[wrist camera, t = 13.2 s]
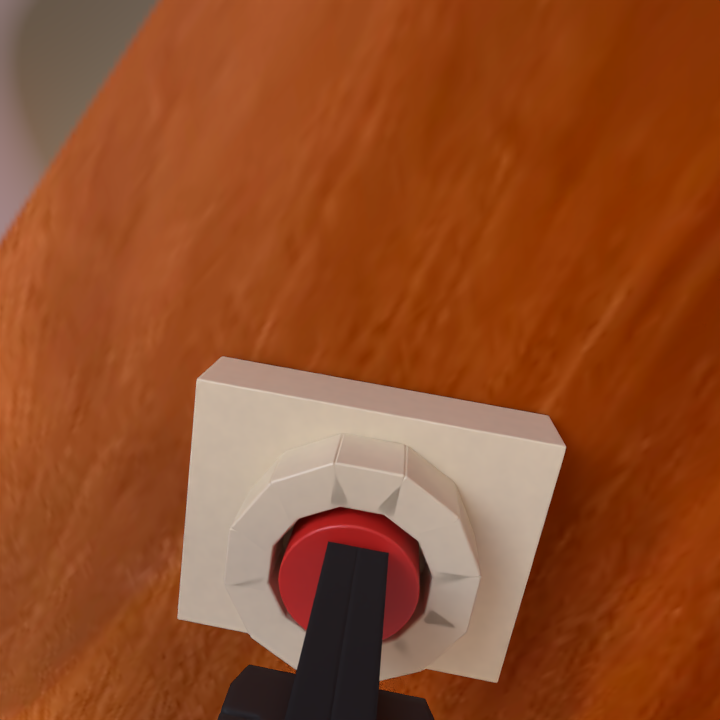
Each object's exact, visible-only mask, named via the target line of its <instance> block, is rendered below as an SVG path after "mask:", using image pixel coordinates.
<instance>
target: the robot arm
mask: <svg viewBox="0 0 720 720" xmlns="http://www.w3.org/2000/svg"><path fill="white" fill-rule="evenodd" d="M388 557H389V553H386V552H381V551H376V550H370V549H365V548H360V547H355V546H350V545H345V544H340V543H334V542H329V541H328V544H327V549H326V553H325V557H324V561H323V565H322V569H321V573H320V577H319V581H318V585H317V589H316V593H315V598H314V602H313V606H312V610H311V614H310V618H309V622H308V626H307V630H306V634H305V638H304V642H303V647H302V651H301V655H300V659H299V663H298V667H297V671H296V674H293V673H288V672H283V671H278V670H273V669H268V668H263V667H258V666H253V665H248V666H247V667H246V668H245V669H244V670H243V671H242V672H241V673H240V674H239V676H238V677H237V678H236V679H235V680H234V681H233V682H232V683H231V684H230V687H229V690H228V693H227V695H226V698H225V701H224V703H223V706H222V709H221V713H220V714H219V717H218V720H434V718H433V715H432V713H431V711H430V709H429V706H428V704H427V702H426V700H425V699H424V698H419V697H414V696H409V695H404V694H399V693H394V692H389V691H384V690H379V678H380V665H381V651H382V638H383V625H384V611H385V598H386V584H387V571H388Z"/></svg>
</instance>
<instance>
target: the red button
mask: <svg viewBox="0 0 720 720" xmlns="http://www.w3.org/2000/svg"><path fill="white" fill-rule="evenodd" d="M328 541H329V542H334V543H340V544H345V545H350V546H355V547H360V548H365V549H370V550H376V551H381V552H386V553H389V557H388V571H387V584H386V598H385V611H384V625H383V638H382V640H384V639H386V638H388V637H390V636H392V635H393V634H395V633H396V632H398V631H399V630H400V629H401V628H402V627H403V626H404V625H405V624H406V623H407V622H408V621H409V619H410V618H411V616H412V615H413V613H414V611H415V609H416V607H417V604H418V600H419V594H420V569H419V542H418V541H417V540H416V539H415V538H413V537H412V536H411V535H409V534H408V533H407V532H405V531H404V530H403V529H402V528H400V527H399V526H398V525H396V524H395V523H394V522H393V521H391V520H390V519H389V518H387V517H386V516H385V515H381V514H376V513H371V512H366V511H360V510H355V509H350V508H345V507H337V508H334V509H331V510H327V511H324V512H320V513H317V514H313V515H310V516H307V517H303V518H300V519H299V520H298V521H297V522H296V523H295V526H294V528H293V531H292V534H291V537H290V539H289V542H288V545H287V548H286V551H285V554H284V556H283V559H282V562H281V565H280V570H279V577H278V583H279V590H280V595H281V598H282V600H283V603H284V605H285V607H286V609H287V611H288V612H289V614H290V615H291V616H292V618H293V619H294V620H295V621H296V622H297V623H298V624H299V625H300V626H301V627H303V628H304V629H305V630H307V626H308V622H309V618H310V614H311V610H312V606H313V602H314V598H315V593H316V589H317V585H318V581H319V577H320V573H321V569H322V565H323V561H324V557H325V553H326V549H327V544H328Z"/></svg>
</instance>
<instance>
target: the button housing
mask: <svg viewBox="0 0 720 720" xmlns="http://www.w3.org/2000/svg"><path fill="white" fill-rule="evenodd" d="M565 451H566V445H565V444H564V442H563V440H562V438H561V437H560V435H559V433H558V431H557V430H556V428H555V426H554V424H553V423H552V421H551V419H550V417H549V416H547V415H542V414H536V413H531V412H525V411H520V410H514V409H509V408H503V407H498V406H492V405H487V404H481V403H476V402H471V401H465V400H460V399H454V398H449V397H443V396H438V395H432V394H427V393H421V392H416V391H410V390H405V389H399V388H394V387H388V386H383V385H377V384H372V383H366V382H361V381H355V380H350V379H344V378H339V377H333V376H328V375H322V374H317V373H311V372H306V371H300V370H295V369H289V368H284V367H278V366H273V365H267V364H262V363H256V362H251V361H245V360H240V359H234V358H229V357H221V358H220V359H218V360H217V361H216V362H215V363H214V364H213V365H212V366H211V367H210V368H209V369H207V370H206V371H205V372H204V373H203V374H202V375H201V376H200V377H199V378H197V382H196V394H195V407H194V419H193V431H192V443H191V456H190V468H189V480H188V493H187V505H186V517H185V530H184V542H183V554H182V567H181V579H180V591H179V603H178V616H177V618H178V619H180V620H185V621H190V622H195V623H200V624H205V625H210V626H215V627H220V628H225V629H230V630H235V631H240V632H245V633H249V635H251V636H250V637H251V638H252V639H254V640H255V641H257V642H258V643H259V644H261V645H262V646H264V647H265V648H266V649H268V650H269V651H270V652H272V653H273V654H275V655H276V656H277V657H279V658H280V659H282V660H283V661H284V662H286V663H287V664H289V665H290V666H291V667H293V668H294V669H296V670H297V667H298V663H299V659H300V655H301V651H302V647H303V642H304V638H305V634H306V630H305V629H304V628H303V627H301V626H300V625H299V624H298V623H297V622H296V621H295V620H294V619H293V618H292V616H291V615H290V614H289V612H288V611H287V609H286V607H285V605H284V603H283V600H282V598H281V595H280V590H279V583H278V577H279V570H280V565H281V562H282V559H283V556H284V554H285V551H286V548H287V545H288V542H289V539H290V537H291V534H292V531H293V528H294V526H295V523H296V522H297V521H298V520H299V519H300V518H303V517H307V516H310V515H313V514H317V513H320V512H324V511H327V510H331V509H334V508H337V507H345V508H350V509H355V510H360V511H366V512H371V513H376V514H381V515H385V516H386V517H387V518H389V519H390V520H391V521H393V522H394V523H395V524H396V525H398V526H399V527H400V528H402V529H403V530H404V531H405V532H407V533H408V534H409V535H411V536H412V537H413V538H415V539H416V540H417V541H418V542H419V569H420V594H419V600H418V604H417V607H416V609H415V611H414V613H413V615H412V616H411V618H410V619H409V621H408V622H407V623H406V624H405V625H404V626H403V627H402V628H401V629H400V630H399V631H398V632H396V633H395V634H393V635H392V636H390V637H388V638H386V639H384V640H382V651H381V665H380V678H379V681H381V680H386V679H390V678H394V677H399V676H403V675H407V674H411V673H416V672H420V671H422V670H425V669H430V670H435V671H440V672H445V673H450V674H455V675H460V676H465V677H470V678H475V679H480V680H485V681H490V682H495V683H497V682H498V679H499V676H500V672H501V669H502V665H503V662H504V658H505V655H506V652H507V648H508V645H509V641H510V638H511V635H512V631H513V628H514V624H515V621H516V618H517V614H518V611H519V607H520V604H521V601H522V597H523V594H524V590H525V587H526V584H527V580H528V577H529V573H530V570H531V567H532V563H533V560H534V556H535V553H536V550H537V546H538V543H539V539H540V536H541V533H542V529H543V526H544V522H545V519H546V516H547V512H548V509H549V505H550V502H551V498H552V495H553V492H554V488H555V485H556V481H557V478H558V475H559V471H560V468H561V464H562V461H563V458H564V454H565Z"/></svg>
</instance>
